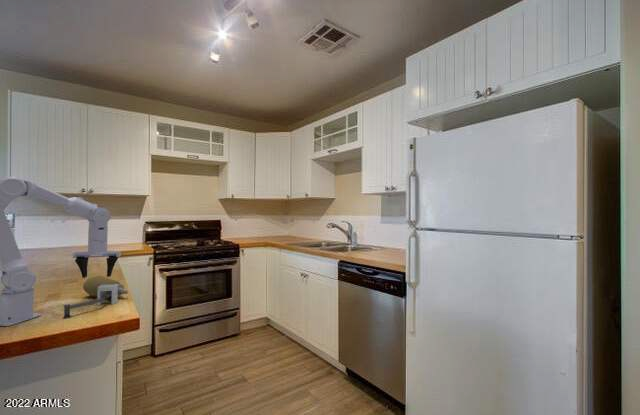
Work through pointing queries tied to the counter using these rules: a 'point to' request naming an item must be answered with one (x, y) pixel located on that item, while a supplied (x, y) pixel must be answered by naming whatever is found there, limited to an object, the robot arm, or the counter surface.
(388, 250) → the counter surface
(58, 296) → the counter surface
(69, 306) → the grey lever handle
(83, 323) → the counter surface
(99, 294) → the grey u-shaped block
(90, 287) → the squeeze bottle
